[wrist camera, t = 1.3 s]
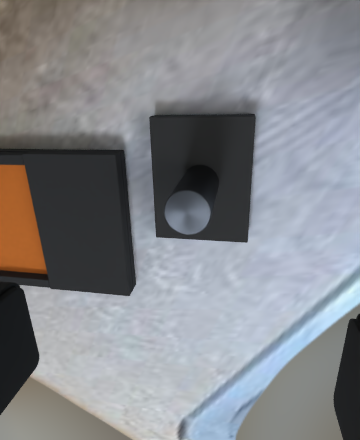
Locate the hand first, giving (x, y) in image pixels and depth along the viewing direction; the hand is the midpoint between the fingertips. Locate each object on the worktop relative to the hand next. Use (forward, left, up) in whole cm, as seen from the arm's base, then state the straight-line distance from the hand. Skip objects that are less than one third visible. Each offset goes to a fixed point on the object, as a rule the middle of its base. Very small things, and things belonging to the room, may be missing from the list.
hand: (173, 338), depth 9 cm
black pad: (0, -1, -16) cm, 16 cm away
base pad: (+4, -15, -16) cm, 22 cm away
